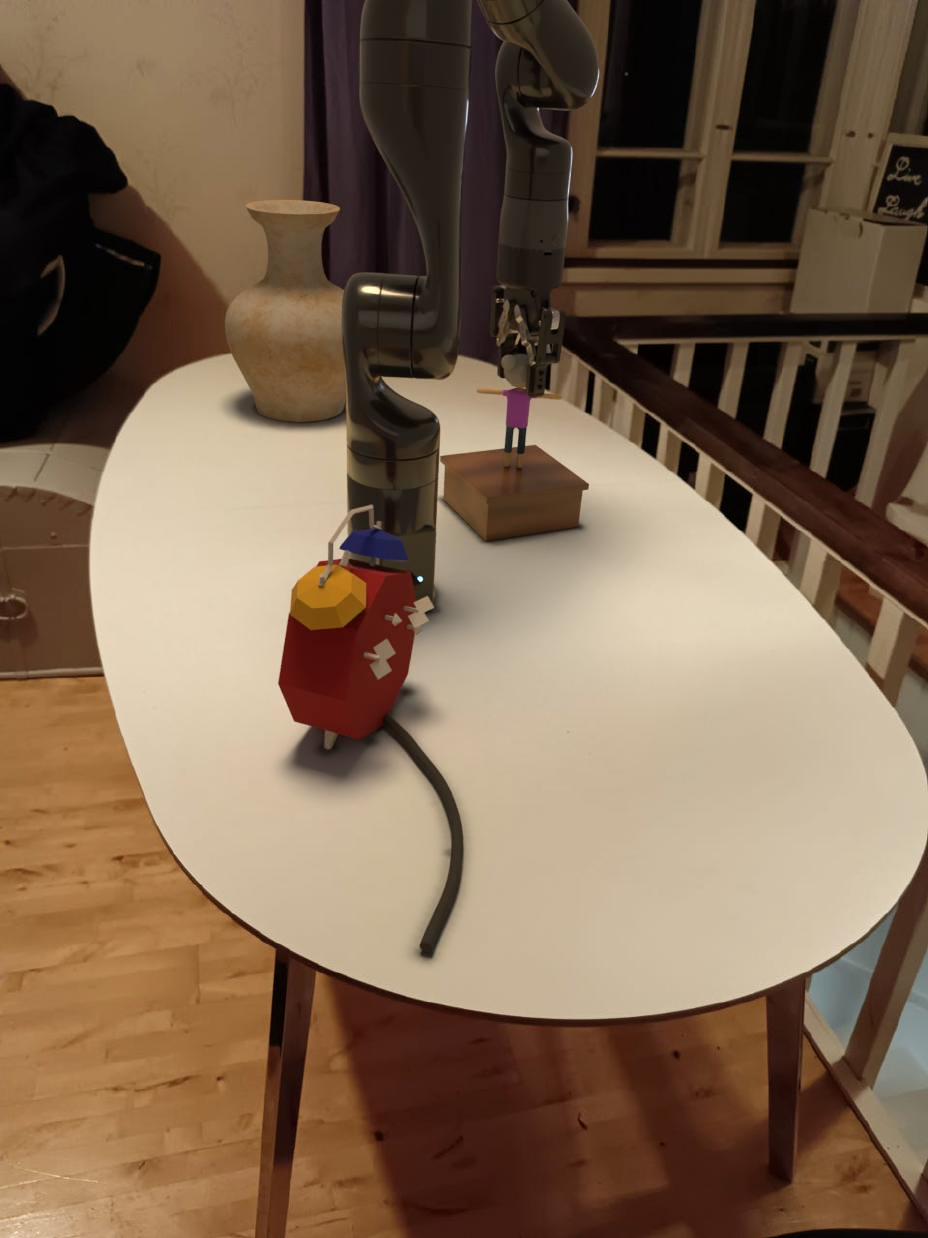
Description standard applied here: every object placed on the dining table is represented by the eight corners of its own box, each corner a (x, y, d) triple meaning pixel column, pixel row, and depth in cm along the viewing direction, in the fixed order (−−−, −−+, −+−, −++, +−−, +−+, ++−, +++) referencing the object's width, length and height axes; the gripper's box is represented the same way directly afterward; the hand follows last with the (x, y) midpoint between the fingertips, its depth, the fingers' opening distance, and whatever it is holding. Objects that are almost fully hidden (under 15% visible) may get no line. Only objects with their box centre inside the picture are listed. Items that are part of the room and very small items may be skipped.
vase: (214, 425, 145) (195, 212, 129) (250, 382, 164) (238, 191, 148) (357, 435, 144) (355, 222, 129) (377, 390, 163) (378, 200, 148)
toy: (554, 464, 122) (567, 347, 114) (553, 481, 117) (566, 360, 110) (473, 457, 123) (480, 340, 115) (469, 474, 118) (476, 353, 110)
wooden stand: (583, 527, 120) (589, 483, 117) (483, 543, 115) (487, 497, 112) (531, 485, 131) (535, 444, 128) (438, 498, 126) (439, 455, 123)
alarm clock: (357, 665, 91) (355, 469, 81) (441, 687, 89) (451, 488, 79) (280, 756, 79) (267, 539, 69) (375, 783, 77) (376, 563, 67)
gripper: (474, 229, 110) (466, 371, 119) (533, 253, 99) (519, 408, 108) (531, 228, 113) (520, 367, 122) (594, 251, 102) (577, 402, 111)
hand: (520, 385), depth 115 cm, fingers open, 7 cm apart
